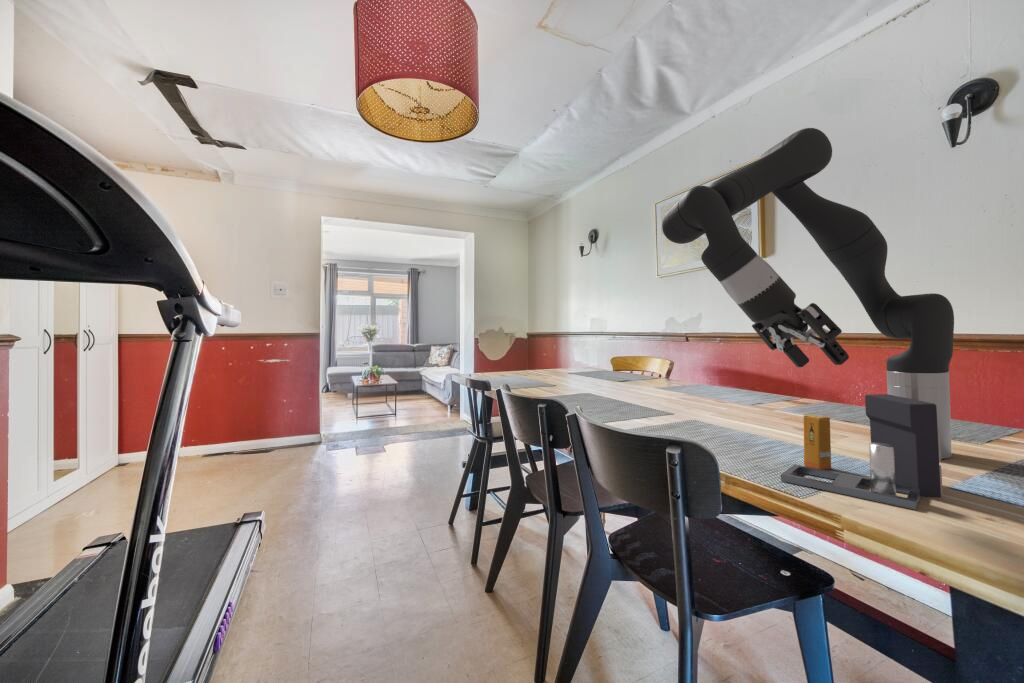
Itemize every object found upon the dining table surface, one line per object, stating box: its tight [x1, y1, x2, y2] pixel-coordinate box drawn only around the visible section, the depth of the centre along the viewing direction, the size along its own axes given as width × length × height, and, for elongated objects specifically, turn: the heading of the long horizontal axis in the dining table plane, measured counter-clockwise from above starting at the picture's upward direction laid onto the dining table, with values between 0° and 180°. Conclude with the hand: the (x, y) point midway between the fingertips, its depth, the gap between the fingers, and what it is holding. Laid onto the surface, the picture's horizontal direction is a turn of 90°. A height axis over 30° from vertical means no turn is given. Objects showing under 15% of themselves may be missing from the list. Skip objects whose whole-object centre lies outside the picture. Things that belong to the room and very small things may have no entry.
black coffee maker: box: [864, 393, 943, 498], centre depth 68 cm, size 11×4×15 cm, turn 168°
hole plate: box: [780, 463, 922, 511], centre depth 67 cm, size 8×17×1 cm, turn 40°
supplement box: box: [803, 414, 832, 470], centre depth 78 cm, size 3×3×10 cm
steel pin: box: [868, 442, 897, 496], centre depth 64 cm, size 3×3×8 cm
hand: (822, 363), depth 66 cm, fingers open, 8 cm apart
